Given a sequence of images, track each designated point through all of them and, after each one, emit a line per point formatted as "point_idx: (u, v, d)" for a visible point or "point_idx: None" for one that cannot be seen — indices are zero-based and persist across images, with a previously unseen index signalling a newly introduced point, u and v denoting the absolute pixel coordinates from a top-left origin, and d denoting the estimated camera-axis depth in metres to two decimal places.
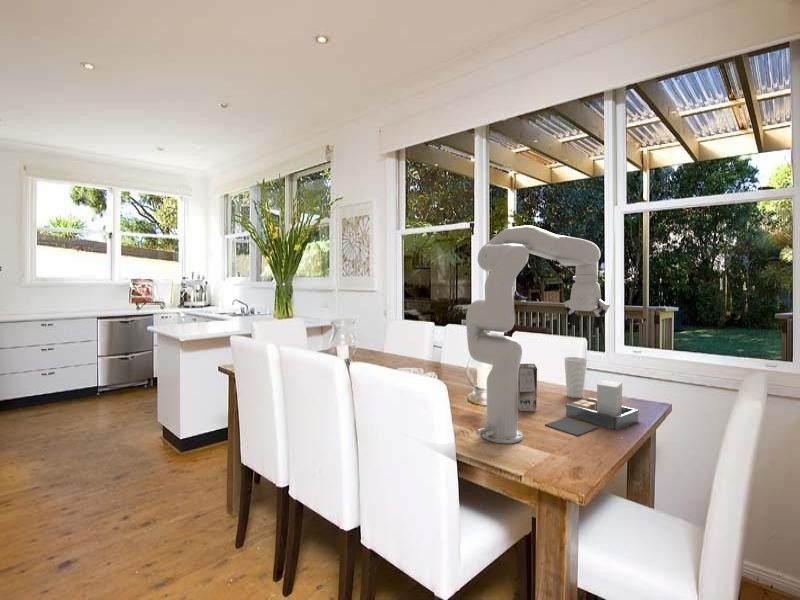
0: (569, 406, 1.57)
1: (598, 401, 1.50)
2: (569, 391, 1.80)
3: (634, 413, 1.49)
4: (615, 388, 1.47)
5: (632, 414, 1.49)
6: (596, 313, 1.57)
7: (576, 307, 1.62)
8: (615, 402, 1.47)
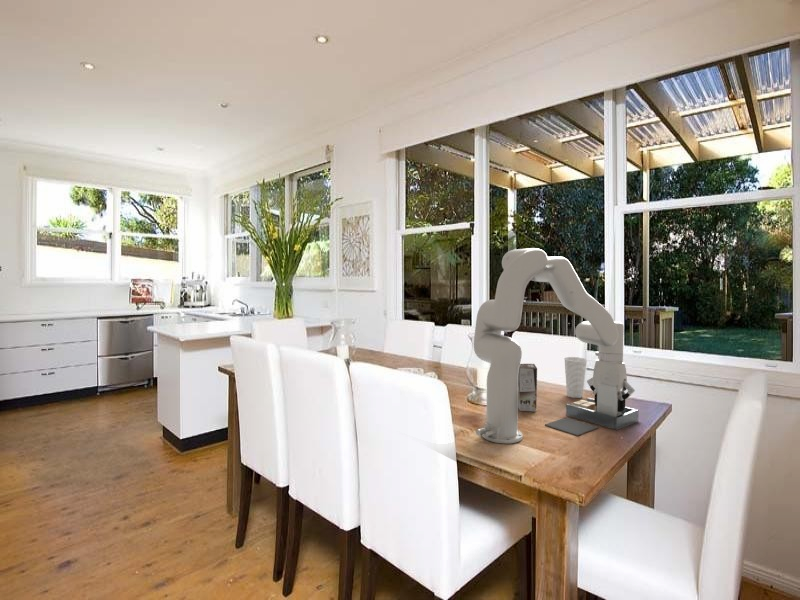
0: (569, 406, 1.57)
1: (598, 401, 1.51)
2: (569, 391, 1.80)
3: (634, 413, 1.49)
4: (615, 388, 1.47)
5: (632, 414, 1.49)
6: (619, 396, 1.48)
7: None
8: (615, 402, 1.47)
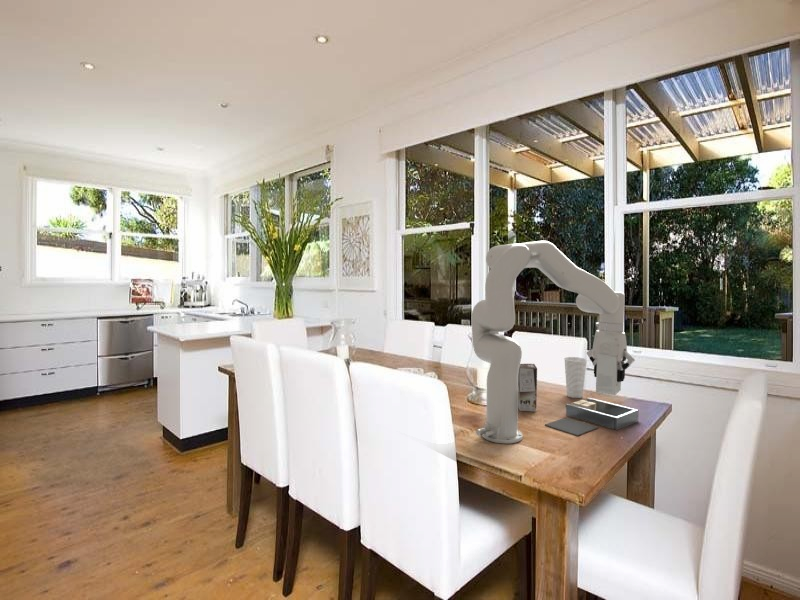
0: (569, 406, 1.57)
1: (597, 371, 1.50)
2: (569, 391, 1.80)
3: (634, 413, 1.49)
4: (615, 357, 1.46)
5: (632, 414, 1.49)
6: (619, 366, 1.47)
7: None
8: (615, 372, 1.46)
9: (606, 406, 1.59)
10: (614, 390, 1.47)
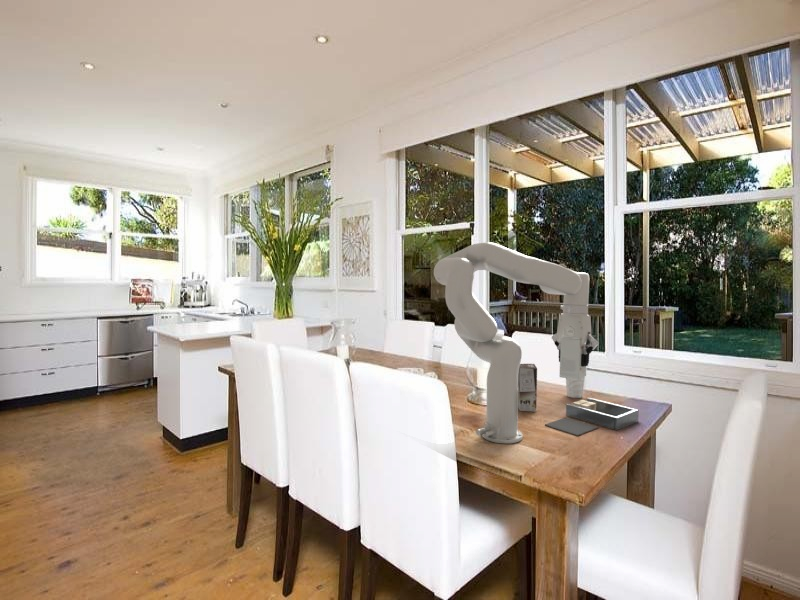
0: (569, 406, 1.57)
1: (561, 355, 1.43)
2: (569, 391, 1.80)
3: (634, 413, 1.49)
4: (578, 341, 1.40)
5: (632, 414, 1.49)
6: (583, 350, 1.41)
7: None
8: (578, 355, 1.40)
9: (606, 406, 1.59)
10: (578, 375, 1.40)
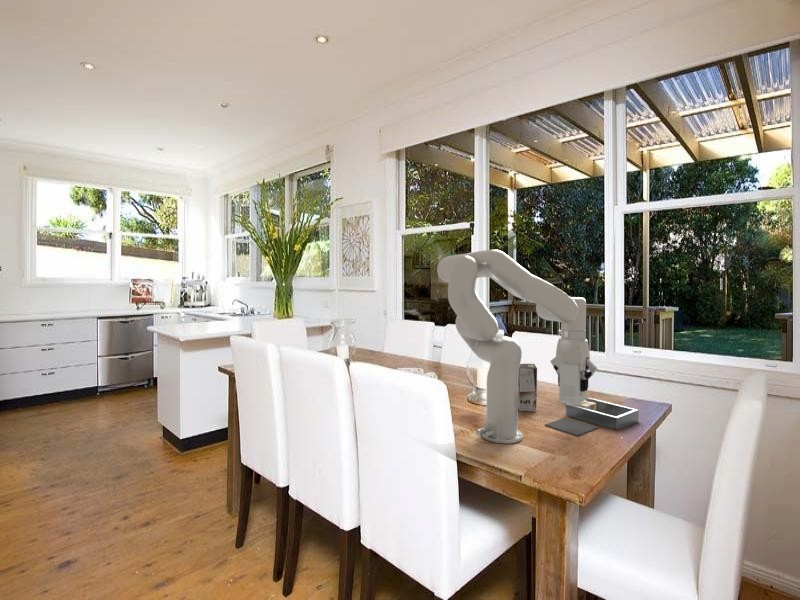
0: (569, 406, 1.57)
1: (560, 380, 1.44)
2: None
3: (634, 413, 1.49)
4: (577, 366, 1.40)
5: (632, 414, 1.49)
6: (582, 375, 1.41)
7: None
8: (577, 381, 1.41)
9: (606, 406, 1.59)
10: (577, 400, 1.41)
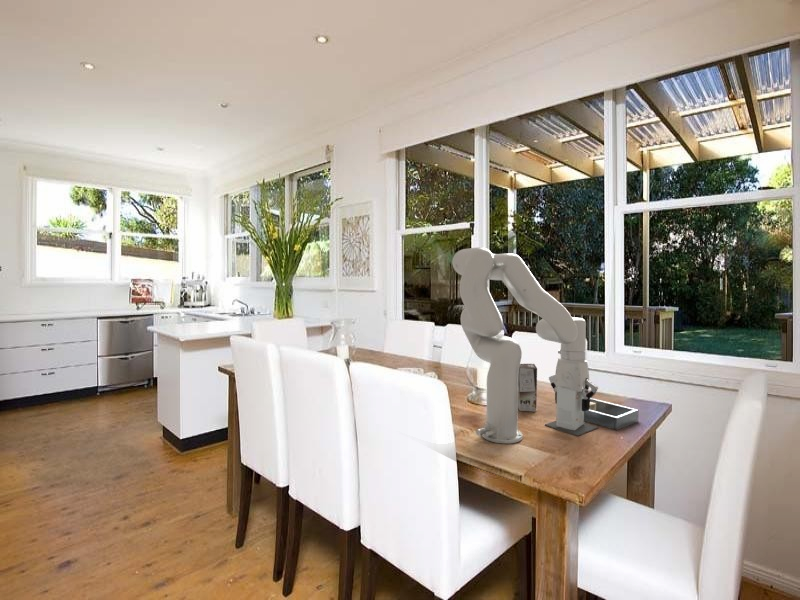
0: None
1: (557, 405, 1.45)
2: None
3: (634, 413, 1.49)
4: (574, 392, 1.41)
5: (632, 414, 1.49)
6: (583, 395, 1.41)
7: (561, 386, 1.45)
8: (574, 406, 1.41)
9: (606, 406, 1.59)
10: (574, 425, 1.42)
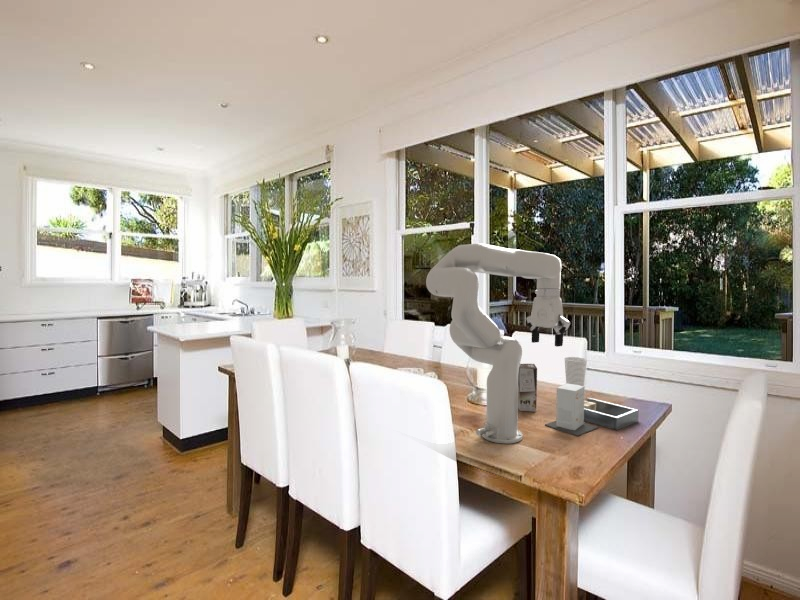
0: None
1: (557, 405, 1.45)
2: None
3: (634, 413, 1.49)
4: (574, 392, 1.41)
5: (632, 414, 1.49)
6: (556, 330, 1.45)
7: (537, 323, 1.50)
8: (574, 406, 1.41)
9: (606, 406, 1.59)
10: (574, 425, 1.42)
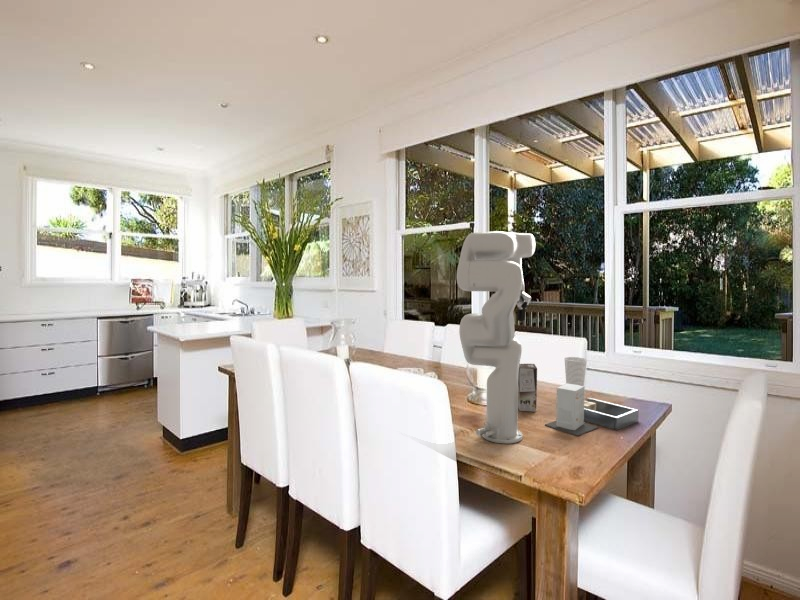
0: None
1: (557, 405, 1.45)
2: None
3: (634, 413, 1.49)
4: (574, 392, 1.41)
5: (632, 414, 1.49)
6: (519, 306, 1.54)
7: None
8: (574, 406, 1.41)
9: (606, 406, 1.59)
10: (574, 425, 1.42)
